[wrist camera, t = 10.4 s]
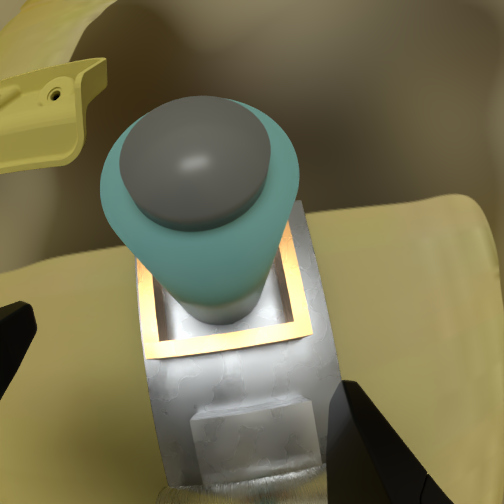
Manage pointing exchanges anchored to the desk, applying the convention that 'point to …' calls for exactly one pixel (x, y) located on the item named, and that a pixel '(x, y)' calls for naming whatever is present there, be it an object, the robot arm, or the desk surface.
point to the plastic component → (47, 114)
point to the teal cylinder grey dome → (203, 201)
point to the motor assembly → (244, 386)
